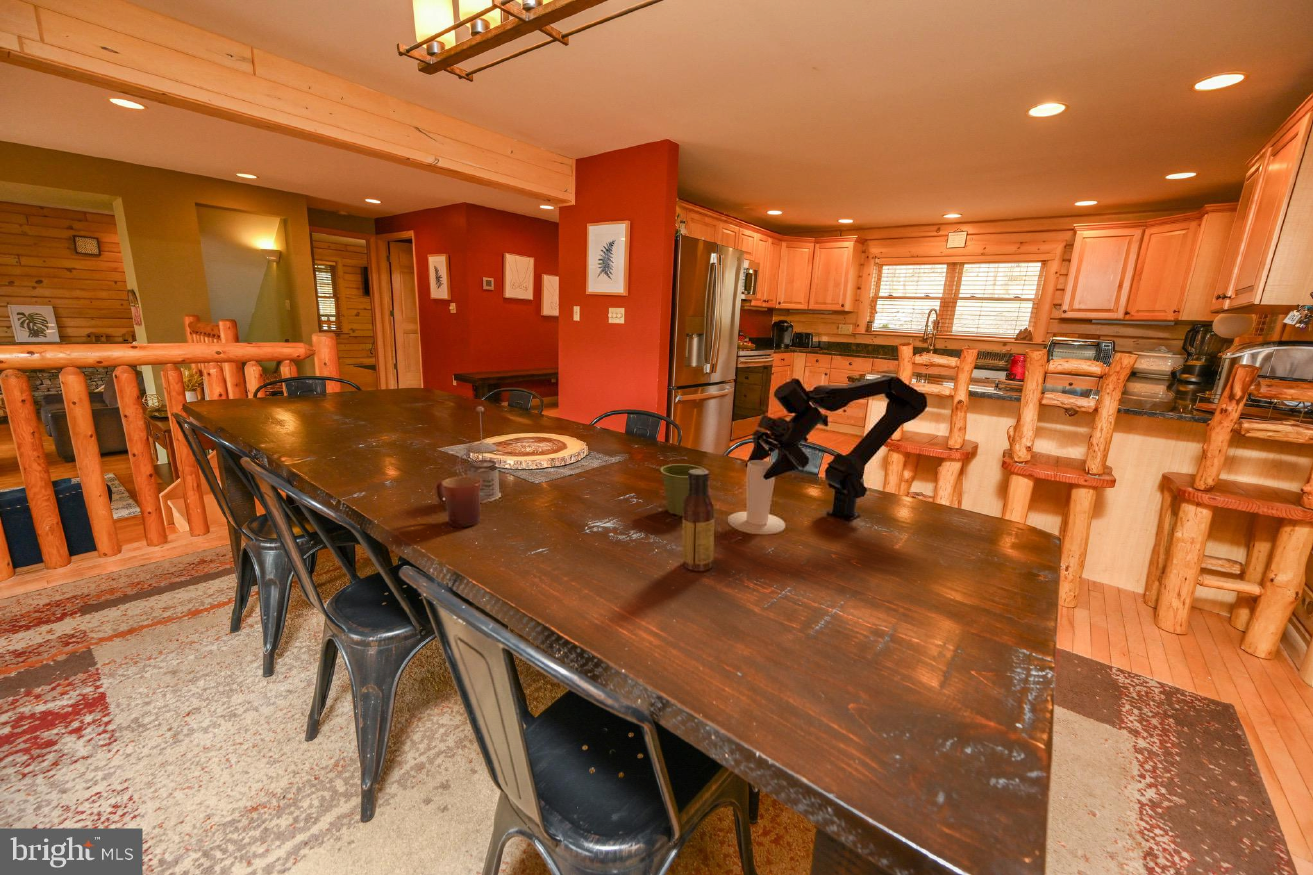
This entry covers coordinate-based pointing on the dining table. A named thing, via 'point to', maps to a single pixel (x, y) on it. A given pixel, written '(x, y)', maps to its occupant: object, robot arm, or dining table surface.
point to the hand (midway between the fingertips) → (755, 472)
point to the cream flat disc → (743, 525)
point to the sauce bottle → (698, 523)
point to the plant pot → (676, 485)
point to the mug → (461, 500)
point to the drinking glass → (758, 492)
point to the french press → (480, 448)
